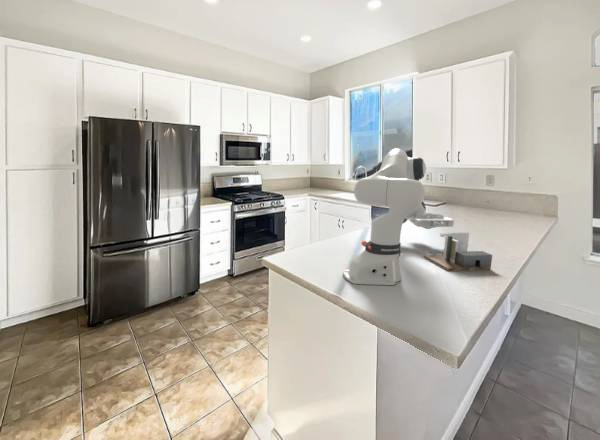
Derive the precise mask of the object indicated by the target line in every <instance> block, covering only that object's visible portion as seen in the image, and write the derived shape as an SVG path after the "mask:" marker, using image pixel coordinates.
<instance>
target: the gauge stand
mask: <svg viewBox="0 0 600 440" xmlns="http://www.w3.org/2000/svg"><path fill="white" fill-rule="evenodd" d="M444 238H445V239H444V240H445V241H444V248H443V254H424V255H423V258H424V259H425V260H427V261H429V262H431V263H432V264H435V265H436V266H438V267H439V268H441V269H443V270H445V271H447V272H456V271H457V272H458V271H459V272H460V271H463V272H464V271H487V270H488V271H489V270H491V267H492V261H493V254H491V253H488V252H486V251H484V250H476V251H475V250H471V251H469V250H467V251H466V252H458V245H459V241H457V240H454V239H452V247H451V256H450V262H447V261H445V260H446V251H447V241H448V237H444Z"/></svg>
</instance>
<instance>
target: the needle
mask: <svg viewBox="0 0 600 440" xmlns="http://www.w3.org/2000/svg"><path fill="white" fill-rule="evenodd" d="M452 238H453V236H448V241H447V251H446V260H445V261H447V262H450V256H451V247H452Z"/></svg>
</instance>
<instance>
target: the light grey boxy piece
mask: <svg viewBox="0 0 600 440" xmlns="http://www.w3.org/2000/svg"><path fill="white" fill-rule="evenodd" d="M439 236H440V237H441V238H445V237H448V236H453V238H452V239H454V240H457V241H459V245H458V252H466V251H468V248H469V247H468V246H469V238H470V233H469V232H468V231H455V232H452V231H449V232H445V233H444V232H443V233H442V232H441V233H440V234H439Z"/></svg>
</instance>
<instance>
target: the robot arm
mask: <svg viewBox="0 0 600 440" xmlns="http://www.w3.org/2000/svg"><path fill="white" fill-rule="evenodd" d="M426 171H427V167H426V163H425V161H424V159H423V158H422V157H419V156H413V157H410V156H408V153H406V151H405V150H403V149H402V148H393V149H391V150H389V151H388V152H387V153H386V155H385V156H384V158H383V159H382V160H381V161H380V162H378V164H377V165H376V169H375V173H373V174H371V175H369V176H366V177H362V178H360V179H358V181H356V183H355V185H354V187H353V188H354V189H353V195H354V197H355V200H356V201H357V202H358V203H359V204H363V205H366V206H371V207H372V206H374V207H384V208H385V207H387V208H388V212H387V213H384V214H381V215H379V216H377V217H375V218H374V219H373V220H372V222H371V224H370V225H371V226H370V240H368V241H367V240H362V241H361V245H362V246H363V247H365V249H364V250H363V251H362V252H361V253H359V254H357V255H356V256H355V257H353V258H352V259H351V260H350V263H349V268H348V269H344V270H343V276H344V279H346V280H347V281H348V282H350V283H352V284H354V285H372V286H373V285H374V286H377V285H378V286H394V285H396V284H397V283H398V282H400V281H401V280H402V275H401V270H400V256H401V245H402V243H401V233H402V228H403V225H404V224H405V223H406V222H407V221H409V222H410V223H411V224H413V225H414V226H415V227H420V228H422V229H426V230H431V229H435V228H444V227H445V228H449V227H454V224H455V223H454V222H455V221H454V219H453V218H449V217H447V216H444V215H443V214H435V213H432V212H428V211H427V210H426V209H427V208H426V204H425V202H424V199H425V197H426V196H425V195H426V190H425V186H424V184H423V183H422V182H421V181H420V180H421V179H423V178H424V177H425V174H426Z"/></svg>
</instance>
